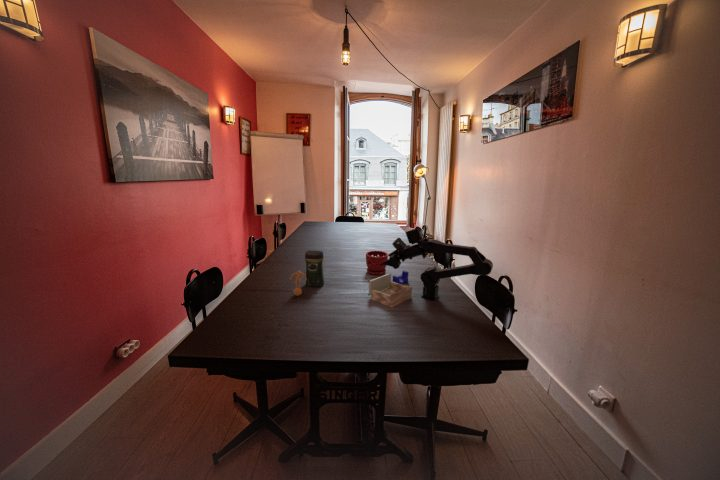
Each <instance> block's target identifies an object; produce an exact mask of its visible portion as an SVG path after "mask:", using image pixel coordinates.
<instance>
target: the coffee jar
mask: <svg viewBox="0 0 720 480" xmlns="http://www.w3.org/2000/svg"><path fill="white" fill-rule="evenodd" d="M324 257H325V256H324V251H323V250H311V249H308V250H306V252H305V254H304V261H305V267H306V268H305V276H306V278H307V281H306V278H304V279H305V281H304V282H305V283H304V284H305V285H306V286H307V287H314V288H315V287H317V288H319V287H322V286H324V283H325V278H324V277H325V276H324V268H323V263H324V262H323V261H324Z"/></svg>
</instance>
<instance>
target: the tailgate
mask: <svg viewBox="0 0 720 480" xmlns="http://www.w3.org/2000/svg"><path fill="white" fill-rule="evenodd" d="M368 281H369V284H368V293H367V295H368V296H370V297H371V289H374V290H376V291H379V292H380V291H382V290H385V289H387V288H389V287H390V282H391V281H392V273H387V274H382V275H381V276H378V277H376V278H373V279H370V280H368Z"/></svg>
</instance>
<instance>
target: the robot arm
mask: <svg viewBox="0 0 720 480" xmlns="http://www.w3.org/2000/svg"><path fill="white" fill-rule="evenodd" d="M404 234H405V236H406V238H407V241H408V243H409V244H407V243H405V241H404V240H402V238H401V237H397V238H396V239H395V240H394V241H393V242H392V243H391V244H392V246H393V248H394V250H393V251H392V252H389V254H388V257H389V258H388V260H386V261H384V262H382V264H383V265H386V267H392V268H393V269H394V270H398V269H399V268H400V266H401V264H402V262H405V261H406V260H408V259H409V260H413V258H417V257H419V256H422V259H426V258H427V257H428V255H429V254H440V253H441V254H443V253H446V254H451V255H459V256H465V257H469V259H471V261H472V263H471V264H470V263H469V264H467V265H461V266H460V265H459V266H454V267H448V268H441V269H440V268H439V269H438V267H437V266H432V267H430V266H429V267H427V268H426V269H425V270H424V271H422V273H420V280H421V282H422V284H423V287H422V295H421V298H423V299H425V300H429V301H432V302H433V301H435V300H437V299H439V298H440V295H439V289H440V286H439V285H438V284H439V283H440V280H441V279H447V278H453V277H454V278H455V277H460V276H461V277H462V276H467V275H468V276H469V275H474V276H475V275H476V276H488V275H490V274H491V272H492V270H493V267H494V263H493V261H492V260H490V259H488V258H487V257H486V256H485V255H484V254H482V252H481V251H479V249H477V247H475V246H470V245H469V246H468V245H460V244H451V243H445V242H442V241H440V240H437V239H435V238H431V239H429V238H426V237H422V233H421V230H420V228H419V227H418V228H413V229H409V230H406V231H405V232H404ZM401 261H402V262H401Z"/></svg>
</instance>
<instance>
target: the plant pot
mask: <svg viewBox="0 0 720 480" xmlns="http://www.w3.org/2000/svg"><path fill="white" fill-rule="evenodd" d="M388 255H389V254H388V253H387V252H385V251H383V250H371V251H367V252H366V253H365V261H366V262H365V263H366V271H367V273H369V274H371V275H384V274H385V273H386V271H387V269H386V267H387V265H383V264H382V262H384V261H386V260H388V259H389V258H388V257H389V256H388Z"/></svg>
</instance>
